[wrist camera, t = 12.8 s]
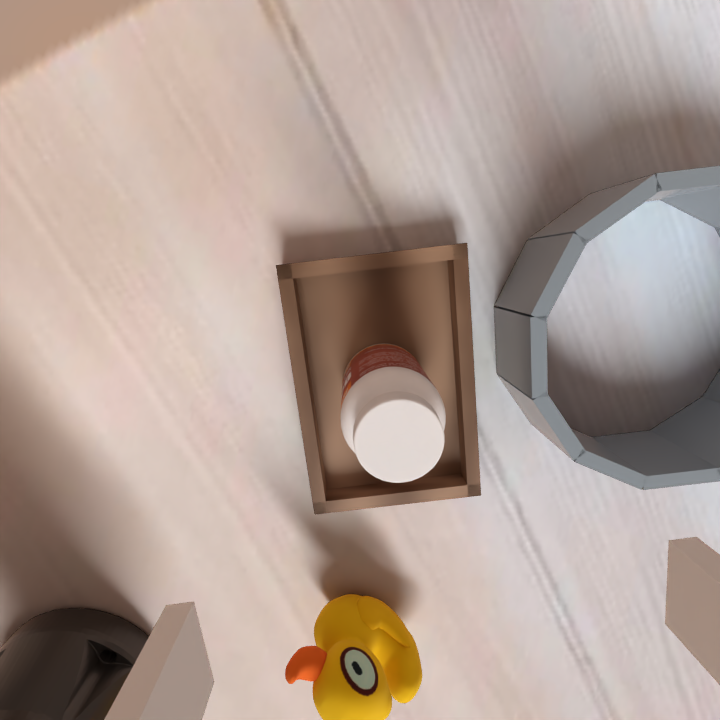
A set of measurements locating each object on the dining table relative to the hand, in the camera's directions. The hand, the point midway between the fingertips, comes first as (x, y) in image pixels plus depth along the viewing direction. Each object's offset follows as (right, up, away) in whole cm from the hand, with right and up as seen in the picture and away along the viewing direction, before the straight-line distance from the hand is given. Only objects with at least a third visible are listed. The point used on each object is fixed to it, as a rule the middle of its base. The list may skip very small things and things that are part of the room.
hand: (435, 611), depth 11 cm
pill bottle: (0, +5, +20) cm, 21 cm away
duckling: (-2, -15, +26) cm, 30 cm away
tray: (0, +5, +21) cm, 22 cm away
